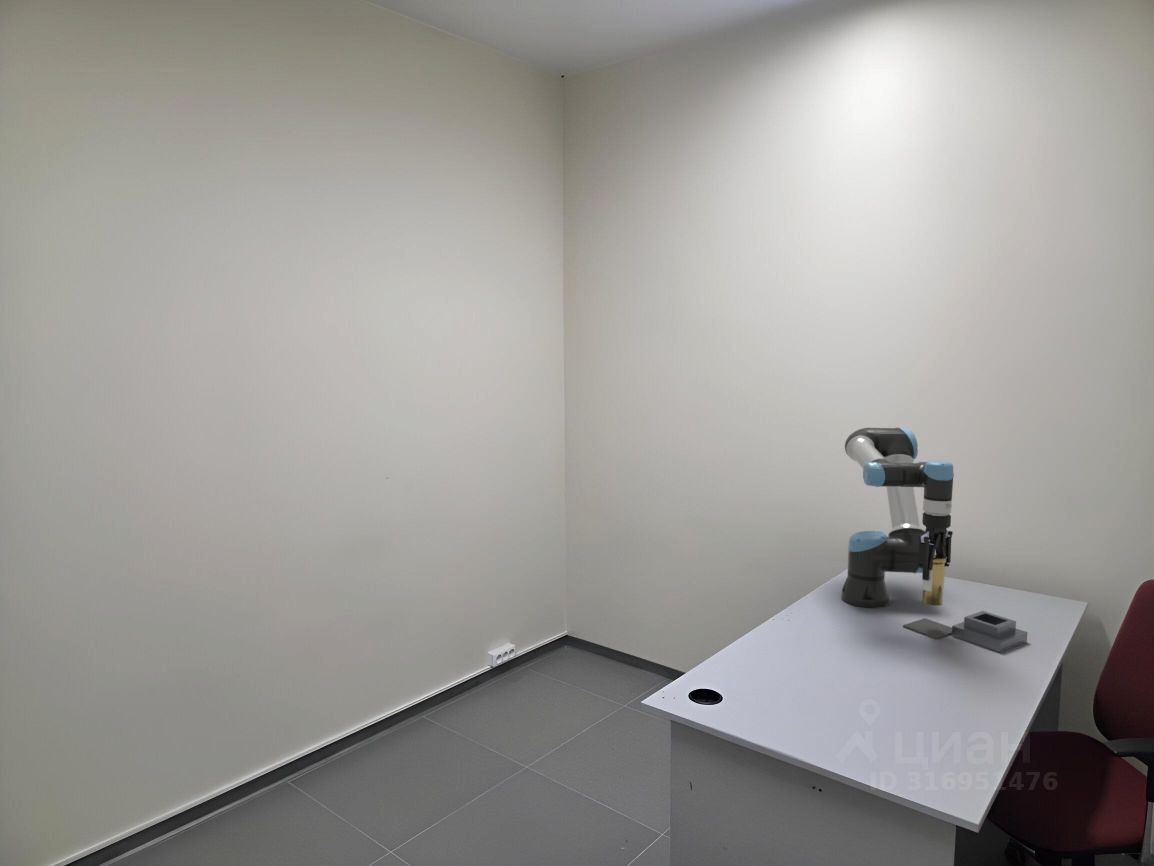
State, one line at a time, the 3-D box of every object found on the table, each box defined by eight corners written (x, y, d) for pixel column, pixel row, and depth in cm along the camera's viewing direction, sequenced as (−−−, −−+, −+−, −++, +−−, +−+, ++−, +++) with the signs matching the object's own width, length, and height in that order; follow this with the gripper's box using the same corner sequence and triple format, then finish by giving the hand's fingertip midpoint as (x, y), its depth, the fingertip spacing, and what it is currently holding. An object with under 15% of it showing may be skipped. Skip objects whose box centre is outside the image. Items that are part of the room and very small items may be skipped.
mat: (902, 627, 212) (903, 625, 212) (924, 619, 218) (924, 618, 218) (936, 639, 203) (937, 637, 203) (958, 631, 208) (958, 629, 208)
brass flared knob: (917, 601, 210) (919, 556, 209) (929, 597, 213) (931, 553, 212) (935, 607, 205) (938, 561, 203) (947, 603, 208) (950, 558, 206)
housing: (951, 635, 206) (952, 616, 205) (978, 625, 213) (979, 607, 212) (1000, 652, 194) (1001, 632, 193) (1026, 642, 201) (1028, 622, 200)
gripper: (930, 519, 198) (926, 597, 201) (967, 511, 207) (962, 586, 210) (906, 514, 205) (902, 590, 207) (943, 507, 214) (939, 579, 216)
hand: (932, 588), depth 209 cm, fingers closed on brass flared knob, 5 cm apart
